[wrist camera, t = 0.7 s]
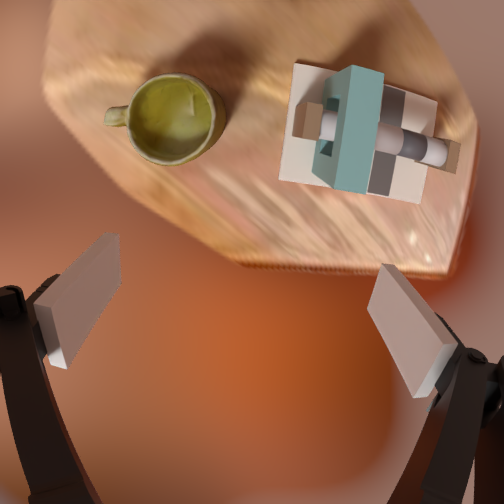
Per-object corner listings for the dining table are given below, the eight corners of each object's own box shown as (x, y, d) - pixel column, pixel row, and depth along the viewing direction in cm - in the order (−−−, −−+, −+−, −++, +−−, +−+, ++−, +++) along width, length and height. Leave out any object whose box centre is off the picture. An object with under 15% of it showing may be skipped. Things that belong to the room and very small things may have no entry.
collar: (311, 172, 36) (333, 188, 26) (324, 79, 32) (351, 64, 22) (336, 176, 36) (365, 194, 27) (349, 85, 32) (384, 73, 23)
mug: (251, 79, 31) (217, 90, 24) (227, 159, 38) (191, 193, 30) (157, 54, 32) (103, 63, 24) (142, 129, 38) (93, 155, 30)
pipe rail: (278, 178, 37) (286, 192, 30) (293, 64, 32) (306, 48, 25) (417, 202, 39) (449, 220, 31) (434, 102, 33) (471, 100, 26)
